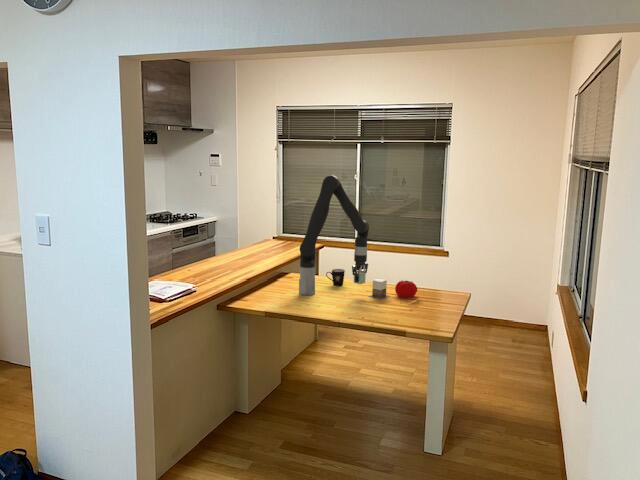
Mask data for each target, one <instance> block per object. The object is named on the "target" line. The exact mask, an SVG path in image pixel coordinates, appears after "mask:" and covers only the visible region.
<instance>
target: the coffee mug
mask: <svg viewBox="0 0 640 480" xmlns="http://www.w3.org/2000/svg"><path fill="white" fill-rule="evenodd" d="M345 273H346V270H345V269H343V268H333V269H331V271H327V272H326V273H325V276H326V278H328V279H329V280H330V281H331V282H332V285H333V286H334V287H343V286H344V278H345ZM328 274H331V277H332V278H330V277H328ZM342 285H343V286H342Z"/></svg>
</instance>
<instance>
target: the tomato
mask: <svg viewBox="0 0 640 480" xmlns="http://www.w3.org/2000/svg"><path fill="white" fill-rule="evenodd" d="M394 291H395V294H396V295H397V296H398V297H399V298H403V299H410V298H413V297H415V295H416V294H417V292H418V287H417V285H416V284H415V283H414V282H413V281H410V280H403V279H401V280H400V281H398V282H397V283H396V284H395V288H394Z"/></svg>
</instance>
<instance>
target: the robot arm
mask: <svg viewBox="0 0 640 480" xmlns="http://www.w3.org/2000/svg"><path fill="white" fill-rule="evenodd" d="M333 196H335V198H336V199H337V200H338V202H339V204H340V206H341V208H342V210H343V212H344V214H345V215H346V216H347V218H348V219H349V220H350V222H351V225H352V227H353V229H354V230H355V232H356V237H355V241H354V242H355V243H354V253H353V255H354V257H353V261H354V263H355V264H354V265H352V266H351V271H352V276H354V275H355V282H359V273H360V272H362V273H366V274H367V272H368V267H369V263H366V262H367V261H368V236H369V235H368V234H369V230H370V226H369V225H370V224H369V222H368V221H367V220H365V219H362V217H361V214H360V211H359V210H358V208H357V206H356V205H355V204H354V203H353V201H352V200H351V198H350V197H349V196H348V195H347V193H346V191H345V190H344V187H343V185H342V183H341V181H340V179H339V177H337V176H335V175H333V174H329V175H327V176H325V177H324V178H323V181H322V184H321V188H320V192H319V195H318V198H317V200H316V202H315V205H314V207H313V210H312V212H311V216H310V218H309V222H308V226H307V229H306V230H307V231H306V234H305V235H304V238H303V240H302V242H301V243H300V245H299V252H300V257H299V258H300V260H299V279H298V294H299V295H301V296H305V297H306V296H313V295H315V294H316V244H317V242H318V238H319V236H320V233H321V231H322V230H323V228H324V226H325V223H326V221H327V218H328V215H329V211H330V205H331V200H332V197H333ZM357 272H358V273H357Z"/></svg>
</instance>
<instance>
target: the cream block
mask: <svg viewBox="0 0 640 480" xmlns="http://www.w3.org/2000/svg"><path fill="white" fill-rule="evenodd" d="M387 281H388V279H382V278H376V279H372V289H378V290H383V289H386V290H387V285H388V283H387Z"/></svg>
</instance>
